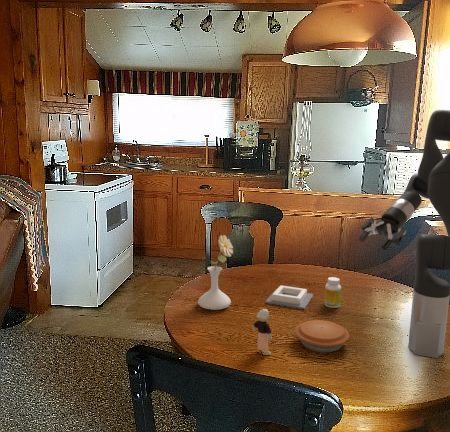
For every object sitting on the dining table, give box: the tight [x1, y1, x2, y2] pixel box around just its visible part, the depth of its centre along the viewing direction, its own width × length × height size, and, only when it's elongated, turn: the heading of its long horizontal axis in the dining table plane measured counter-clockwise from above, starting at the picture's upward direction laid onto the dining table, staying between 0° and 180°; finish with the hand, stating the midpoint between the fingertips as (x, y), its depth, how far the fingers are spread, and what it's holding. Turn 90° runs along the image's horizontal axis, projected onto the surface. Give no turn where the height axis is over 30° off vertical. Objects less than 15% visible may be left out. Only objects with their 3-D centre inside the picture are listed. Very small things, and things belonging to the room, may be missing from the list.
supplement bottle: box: [324, 276, 342, 309], centre depth 161 cm, size 5×5×10 cm
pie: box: [294, 319, 350, 353], centre depth 134 cm, size 16×16×5 cm
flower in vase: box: [197, 234, 234, 311], centre depth 158 cm, size 13×11×25 cm
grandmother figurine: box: [252, 308, 273, 356], centre depth 127 cm, size 8×4×13 cm, turn 47°
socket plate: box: [264, 284, 314, 311], centre depth 167 cm, size 14×14×3 cm
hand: (371, 244), depth 156 cm, fingers open, 8 cm apart
